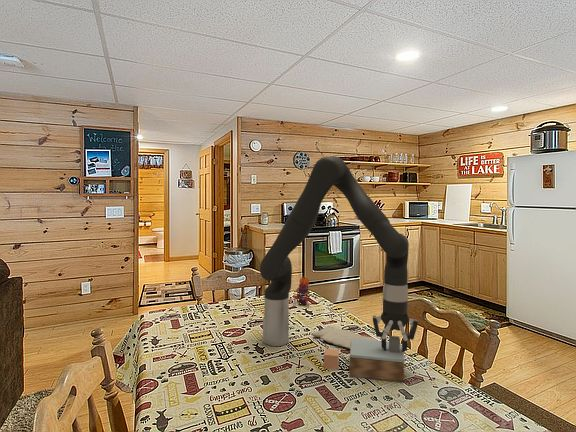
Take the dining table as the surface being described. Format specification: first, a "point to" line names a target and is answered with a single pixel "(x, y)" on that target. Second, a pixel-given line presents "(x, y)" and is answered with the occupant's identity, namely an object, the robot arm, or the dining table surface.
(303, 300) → the figurine
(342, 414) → the dining table surface
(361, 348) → the lid
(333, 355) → the cube
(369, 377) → the brown wooden box
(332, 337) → the stone tool
